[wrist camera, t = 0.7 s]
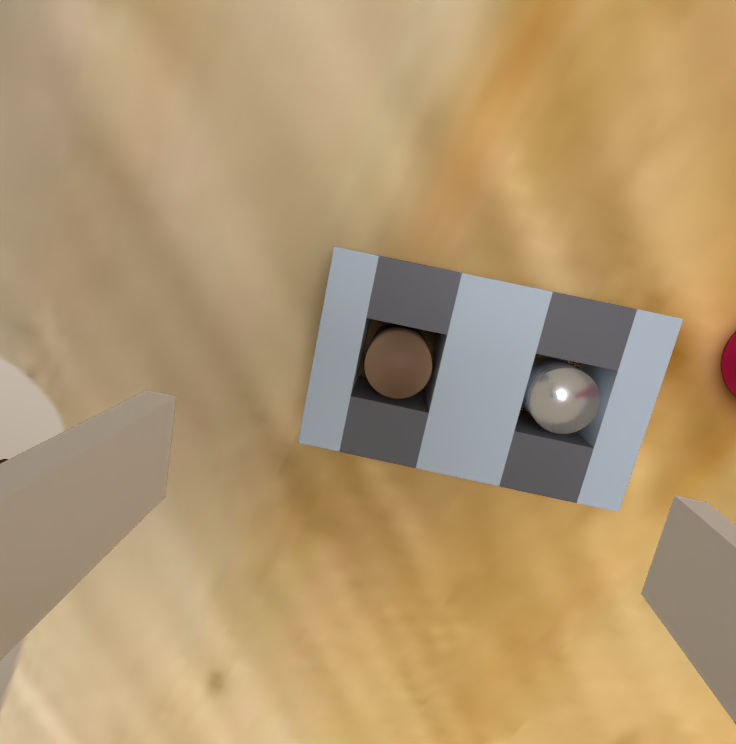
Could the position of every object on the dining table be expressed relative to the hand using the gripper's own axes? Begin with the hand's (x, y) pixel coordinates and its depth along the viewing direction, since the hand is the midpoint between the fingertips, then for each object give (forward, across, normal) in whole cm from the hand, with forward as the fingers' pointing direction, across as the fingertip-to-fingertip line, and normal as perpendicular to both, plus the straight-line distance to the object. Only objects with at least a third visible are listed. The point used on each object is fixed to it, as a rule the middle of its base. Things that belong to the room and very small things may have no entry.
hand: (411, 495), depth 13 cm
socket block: (+24, +5, -1) cm, 25 cm away
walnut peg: (+24, 0, 0) cm, 24 cm away
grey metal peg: (+24, +10, -1) cm, 26 cm away
